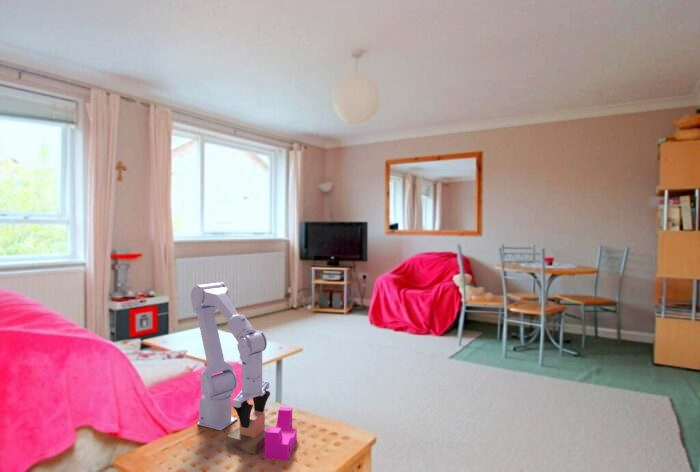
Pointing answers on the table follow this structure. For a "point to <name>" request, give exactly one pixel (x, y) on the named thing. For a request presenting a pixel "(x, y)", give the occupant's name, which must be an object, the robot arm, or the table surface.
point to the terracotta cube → (254, 424)
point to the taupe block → (247, 441)
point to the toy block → (280, 436)
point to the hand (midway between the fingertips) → (252, 421)
